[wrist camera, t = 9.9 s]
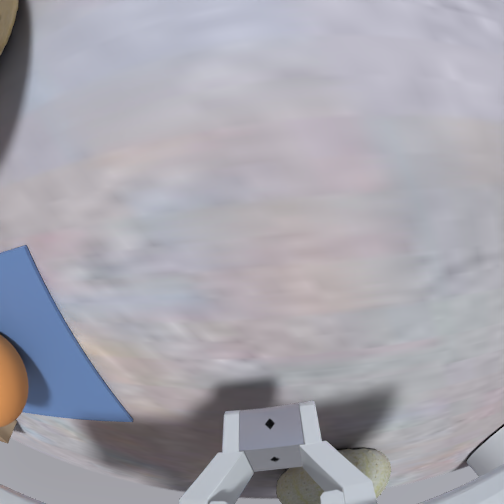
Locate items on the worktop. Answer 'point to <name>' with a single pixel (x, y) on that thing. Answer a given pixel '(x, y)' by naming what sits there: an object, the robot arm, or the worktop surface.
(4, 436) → the strip
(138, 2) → the worktop surface
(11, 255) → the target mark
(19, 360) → the ball
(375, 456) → the sea urchin shell
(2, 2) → the onion
